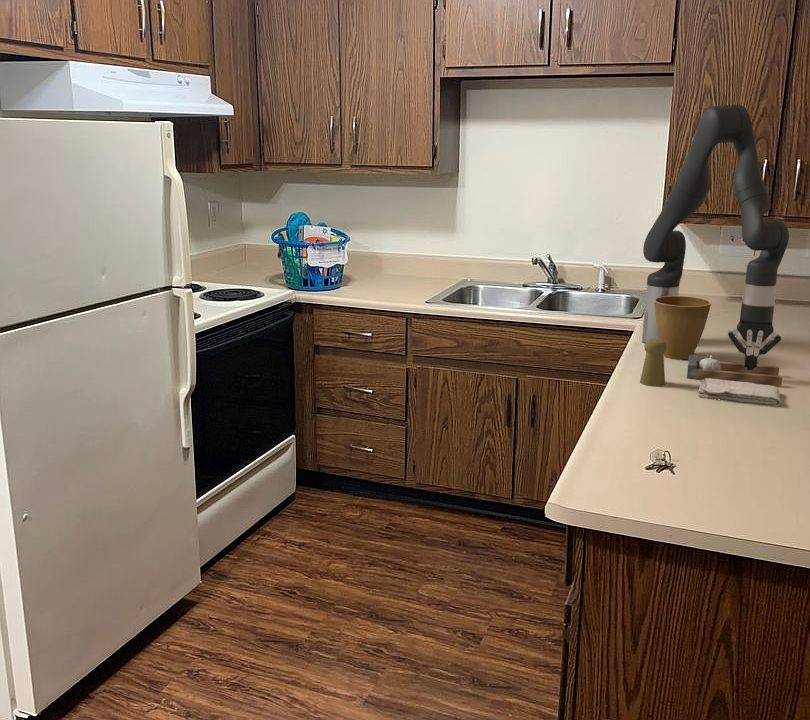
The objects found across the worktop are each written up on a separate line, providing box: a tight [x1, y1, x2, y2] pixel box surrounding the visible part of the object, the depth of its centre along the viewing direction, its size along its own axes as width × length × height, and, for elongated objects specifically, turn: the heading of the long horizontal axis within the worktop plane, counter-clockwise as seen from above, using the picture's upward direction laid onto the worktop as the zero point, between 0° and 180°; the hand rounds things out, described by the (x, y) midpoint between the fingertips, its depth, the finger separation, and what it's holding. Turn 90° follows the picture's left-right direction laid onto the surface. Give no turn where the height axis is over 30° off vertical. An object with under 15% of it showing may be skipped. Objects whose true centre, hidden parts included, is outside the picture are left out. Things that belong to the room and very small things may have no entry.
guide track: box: [686, 354, 783, 388], centre depth 209 cm, size 22×11×4 cm, turn 70°
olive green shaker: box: [639, 339, 667, 387], centre depth 202 cm, size 6×6×11 cm
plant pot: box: [654, 295, 712, 361], centre depth 227 cm, size 15×15×16 cm
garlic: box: [699, 354, 721, 370], centre depth 210 cm, size 6×5×5 cm
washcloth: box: [697, 378, 782, 408], centre depth 193 cm, size 12×18×3 cm, turn 68°
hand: (750, 369), depth 207 cm, fingers closed
